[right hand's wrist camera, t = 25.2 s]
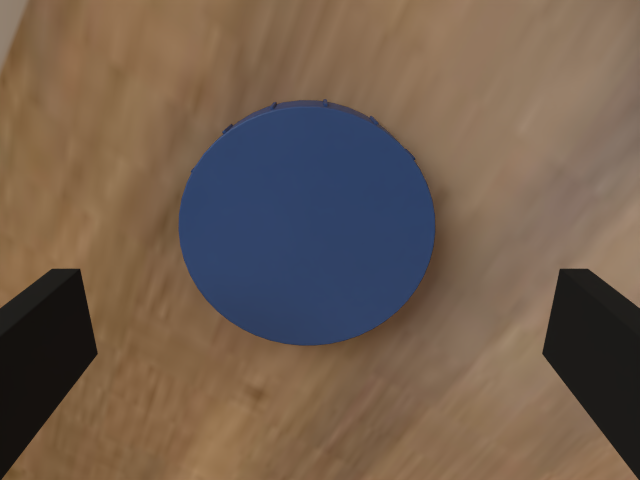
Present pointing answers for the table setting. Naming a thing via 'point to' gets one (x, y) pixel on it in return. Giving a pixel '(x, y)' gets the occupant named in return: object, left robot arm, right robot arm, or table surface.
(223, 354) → the table surface
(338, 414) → the table surface
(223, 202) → the lid
